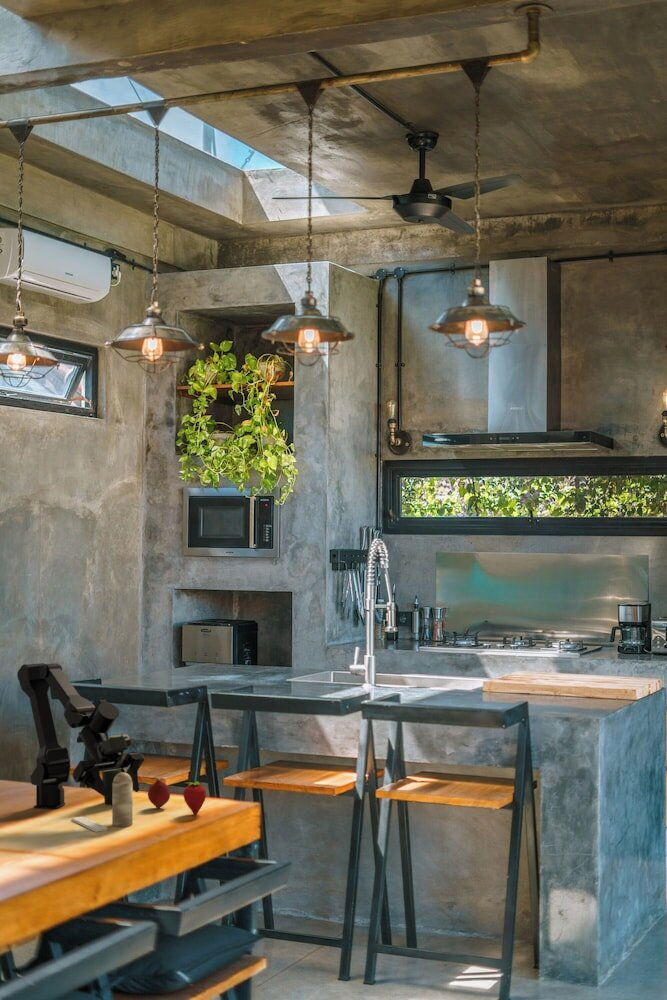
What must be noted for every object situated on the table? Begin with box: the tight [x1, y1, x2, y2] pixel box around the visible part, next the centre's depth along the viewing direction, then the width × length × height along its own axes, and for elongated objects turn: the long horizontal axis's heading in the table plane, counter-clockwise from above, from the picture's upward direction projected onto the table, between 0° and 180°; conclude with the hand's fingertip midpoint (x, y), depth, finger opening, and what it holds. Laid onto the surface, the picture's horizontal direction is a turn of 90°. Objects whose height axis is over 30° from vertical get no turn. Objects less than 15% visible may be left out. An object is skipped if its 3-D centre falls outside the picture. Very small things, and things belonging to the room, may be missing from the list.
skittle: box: [111, 772, 134, 828], centre depth 304 cm, size 5×5×13 cm
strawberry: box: [182, 780, 207, 815], centre depth 316 cm, size 6×8×10 cm
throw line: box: [70, 816, 108, 833], centre depth 304 cm, size 16×3×1 cm, turn 33°
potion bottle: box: [101, 734, 127, 806], centre depth 332 cm, size 8×8×18 cm
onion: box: [147, 777, 171, 809], centre depth 324 cm, size 6×6×8 cm
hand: (122, 793), depth 304 cm, fingers open, 9 cm apart
